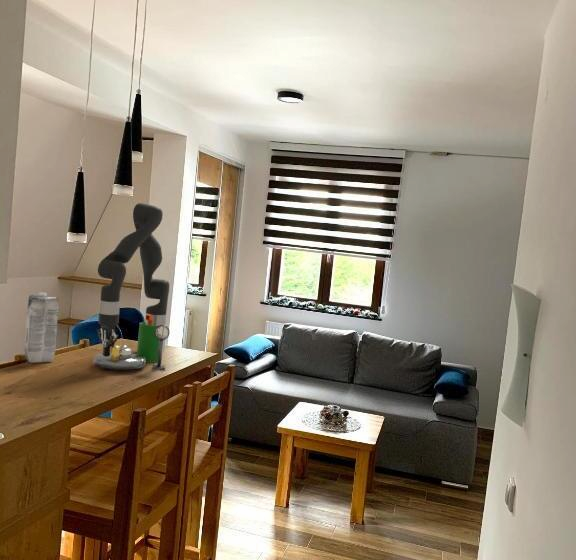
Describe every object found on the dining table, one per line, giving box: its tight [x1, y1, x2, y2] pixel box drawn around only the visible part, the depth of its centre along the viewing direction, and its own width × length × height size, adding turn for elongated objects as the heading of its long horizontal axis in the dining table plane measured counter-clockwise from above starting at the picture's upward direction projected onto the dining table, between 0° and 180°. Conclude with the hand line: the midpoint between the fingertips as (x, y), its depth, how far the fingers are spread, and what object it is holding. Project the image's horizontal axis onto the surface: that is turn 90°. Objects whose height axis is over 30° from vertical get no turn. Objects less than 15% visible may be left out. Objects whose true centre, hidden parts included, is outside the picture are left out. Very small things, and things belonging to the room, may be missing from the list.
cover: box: [118, 344, 133, 359], centre depth 250 cm, size 7×7×5 cm
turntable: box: [93, 345, 147, 370], centre depth 249 cm, size 20×20×8 cm
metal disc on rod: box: [151, 324, 171, 371], centre depth 254 cm, size 5×6×18 cm
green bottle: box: [136, 314, 159, 363], centre depth 267 cm, size 10×9×20 cm
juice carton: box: [24, 292, 59, 364], centre depth 246 cm, size 9×10×27 cm
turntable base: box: [107, 368, 129, 371], centre depth 249 cm, size 10×10×1 cm
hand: (106, 355), depth 243 cm, fingers closed
